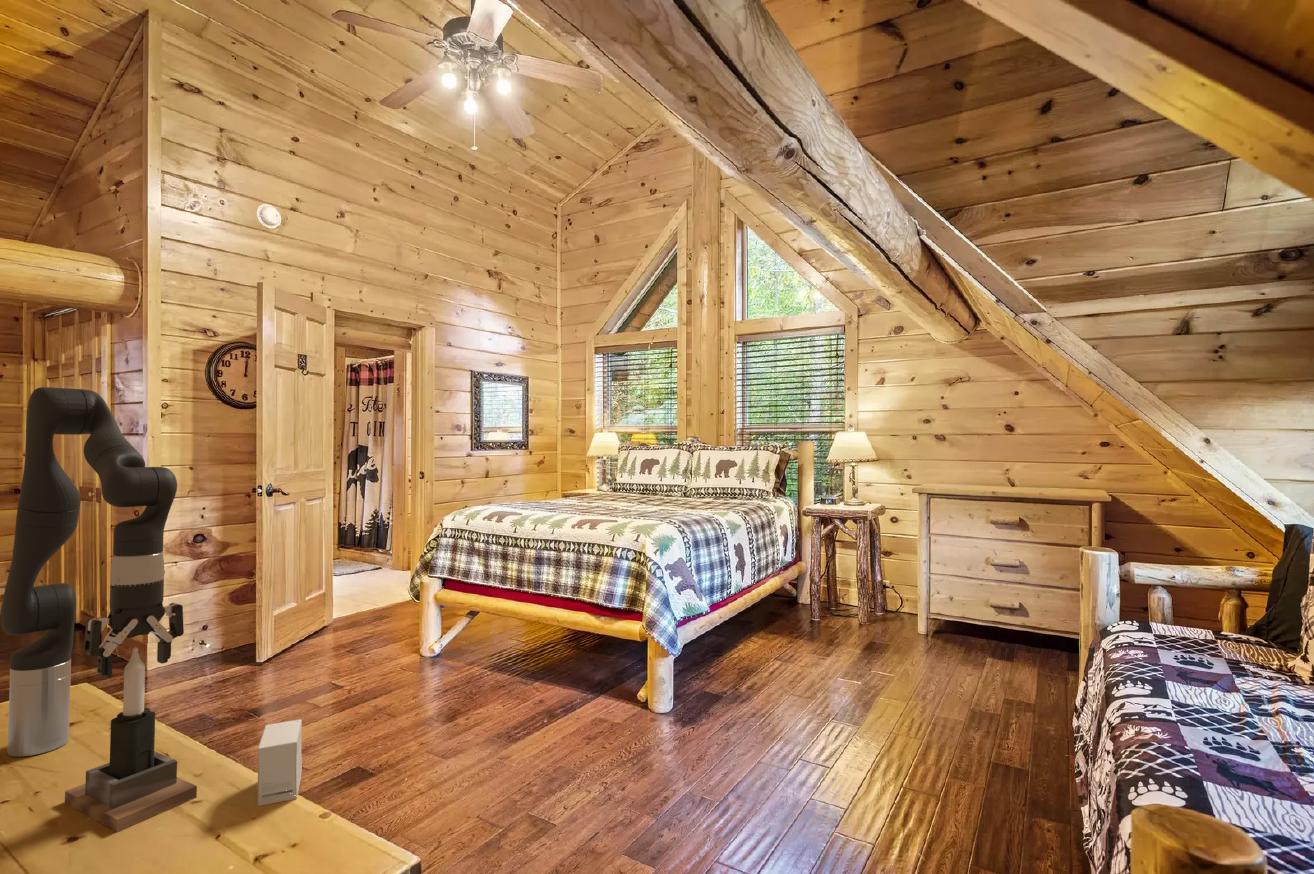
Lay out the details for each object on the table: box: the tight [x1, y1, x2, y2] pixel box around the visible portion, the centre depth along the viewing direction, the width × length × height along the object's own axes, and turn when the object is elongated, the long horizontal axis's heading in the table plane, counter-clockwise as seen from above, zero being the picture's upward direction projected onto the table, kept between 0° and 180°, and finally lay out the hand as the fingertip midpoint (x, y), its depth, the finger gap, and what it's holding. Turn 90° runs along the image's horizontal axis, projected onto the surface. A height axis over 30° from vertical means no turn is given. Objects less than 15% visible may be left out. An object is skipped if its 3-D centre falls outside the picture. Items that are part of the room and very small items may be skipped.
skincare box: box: [257, 718, 303, 807], centre depth 121 cm, size 10×6×10 cm, turn 24°
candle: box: [109, 646, 156, 780], centre depth 116 cm, size 5×5×25 cm
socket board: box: [64, 750, 198, 833], centre depth 116 cm, size 18×12×6 cm, turn 63°
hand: (135, 669), depth 116 cm, fingers open, 8 cm apart
